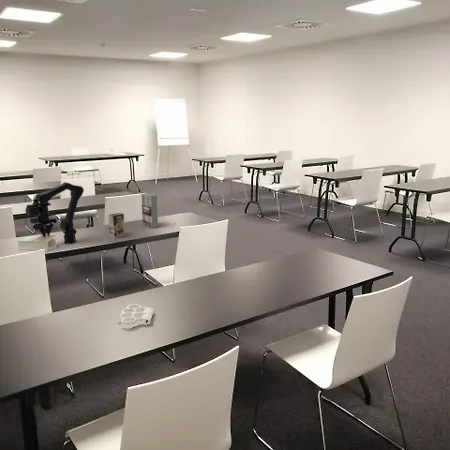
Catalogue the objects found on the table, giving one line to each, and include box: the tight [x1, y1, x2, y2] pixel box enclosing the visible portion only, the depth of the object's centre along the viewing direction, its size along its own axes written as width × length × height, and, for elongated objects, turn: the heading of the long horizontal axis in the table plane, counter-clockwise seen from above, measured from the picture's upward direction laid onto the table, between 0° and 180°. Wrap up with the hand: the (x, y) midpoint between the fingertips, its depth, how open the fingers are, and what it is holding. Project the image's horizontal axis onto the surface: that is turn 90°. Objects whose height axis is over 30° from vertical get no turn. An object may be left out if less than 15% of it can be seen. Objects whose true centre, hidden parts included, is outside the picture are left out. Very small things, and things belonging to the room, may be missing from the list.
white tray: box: [17, 238, 58, 252], centre depth 285 cm, size 20×12×5 cm, turn 80°
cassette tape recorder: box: [140, 192, 159, 229], centre depth 339 cm, size 14×6×25 cm, turn 42°
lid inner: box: [33, 234, 56, 243], centre depth 283 cm, size 9×10×1 cm
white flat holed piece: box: [119, 303, 155, 325], centre depth 184 cm, size 3×18×15 cm
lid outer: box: [17, 236, 39, 243], centre depth 285 cm, size 9×10×1 cm
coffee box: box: [107, 212, 126, 239], centre depth 311 cm, size 9×6×16 cm
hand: (46, 236), depth 285 cm, fingers open, 4 cm apart
